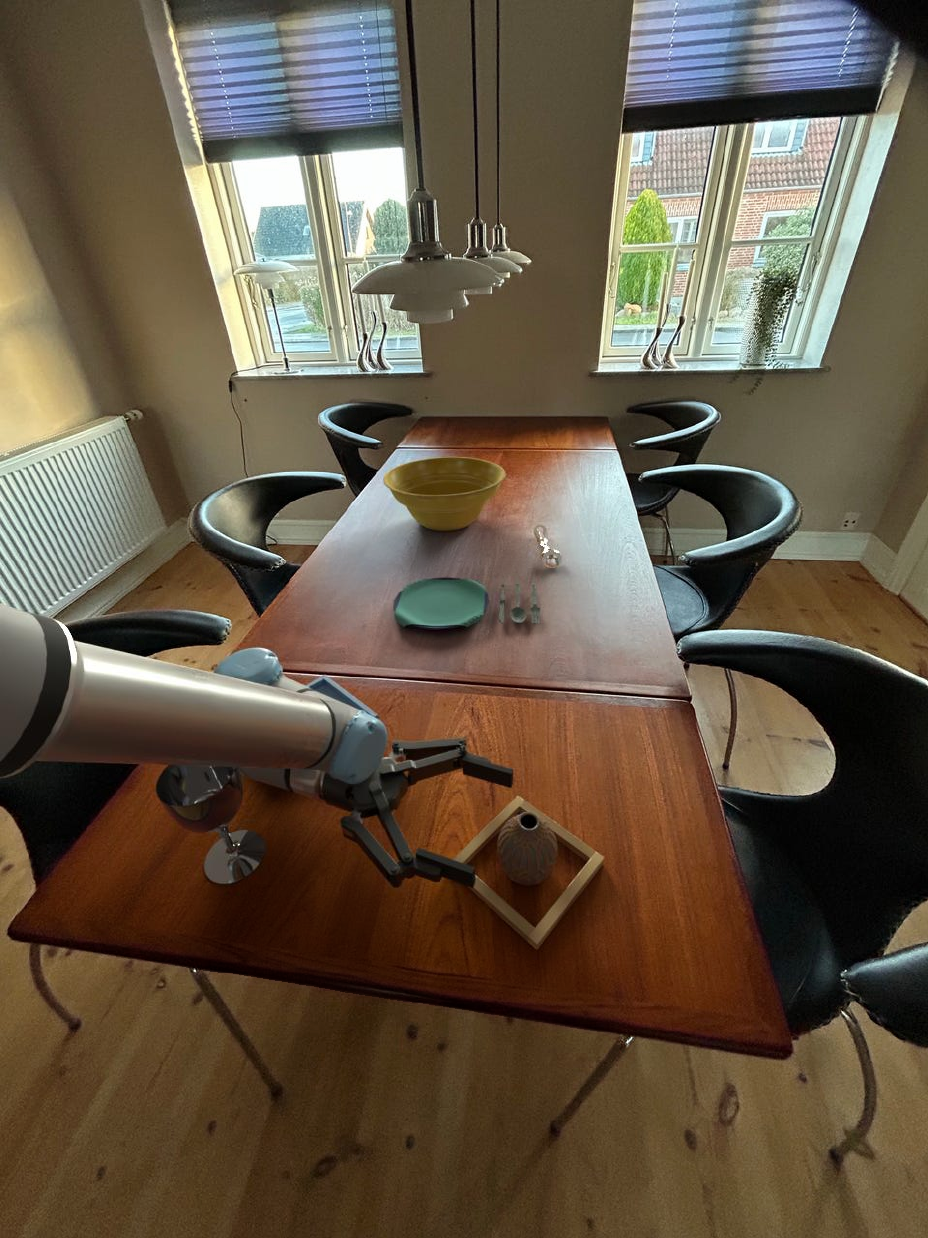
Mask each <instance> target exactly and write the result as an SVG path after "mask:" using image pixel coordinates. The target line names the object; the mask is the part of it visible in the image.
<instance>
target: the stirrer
mask: <svg viewBox="0 0 928 1238" xmlns="http://www.w3.org/2000/svg"><path fill="white" fill-rule="evenodd" d="M538 529H542V530H541V532H540V530H538ZM541 534H542V536H541ZM533 535H534V537H535V539H536V540H537V542H538V543H539V544H540V545H541V546H542V547H543V548H544V550H543V551H541V555H540V557H541V560H542V561H543V562H544V564H545V565H546V566H548V567H549V568H555V567H556V568H557V567H558V566H559V565H560V563H561V562H562V557H563V556H562V553H561V552H560V551H559V550H557V549H555V548H551V547H550V546H548V540H549V539H548V537H549V536H548V529H547V527H546V526H545V525H542V524H537V525H534V527H533ZM542 537H543V538H542Z"/></svg>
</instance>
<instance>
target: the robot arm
mask: <svg viewBox="0 0 928 1238" xmlns="http://www.w3.org/2000/svg"><path fill="white" fill-rule="evenodd" d="M283 671H284V669H283V665H281V663H280V661H279V658H278V656H277V655H276V654H275V653H274V652H273V651H271V650H270V649H267V648H264V647H250V648H249V647H248V648H244V649H240V650H237V651H235V652H233V653H231V654H230V655H229V656H226V658H223V660H221V661H220V662H219V663H218V664H217V666H216V668H215V669H214V672H211V671H206V670H202V669H197V668H192V667H190V666H186V665H180V664H178V663H177V664H176V663H173V662H172V663H171V662H168V661H163V660H160V659H159V660H158V659H155V658H150V657H146V656H142V655H137V654H133V653H128V652H125V651H120V650H117V649H116V650H115V649H112V648H108V647H103V646H98V645H95V644H91V643H85V642H81V641H77V640H74V638H73V637H72V635H71V633H70V631H69V629H68V628H67V627H66V626H65V624H64V623H62V622H61V621H59V620H57V619H55V618H53V617H49V616H45V615H41V614H38V613H33V612H29V611H26V610H23V609H22V610H21V609H18V608H15V607H12V606H9V605H7V604H5V603H1V602H0V779H4V778H5V779H6V778H9V777H13V776H16V775H17V774H20V773H21V772H23V771H24V770H26V769H27V768H29V767H30V766H32V764H33V763H35V762H62V763H63V762H64V763H95V764H124V765H125V764H127V765H129V764H130V765H157V766H158V765H161V766H168V765H188V766H220V767H238V768H239V771H240V774H241V776H243V777H245V778H247V779H249V780H252V781H257V782H260V783H264V784H266V785H270V786H273V787H274V788H275V787H276V788H279V789H281V790H285V791H287V792H291V793H294V794H297V795H299V796H303V797H305V798H306V797H307V798H309V799H312V800H315V801H317V802H321V803H326V804H327V805H329V806H332V807H334V808H338V809H340V810H343V811H346V812H351V813H350V814H349V815H345V816H342V817H341V818H340V819H339V823H340V827H341V832H342V835H343V837H344V838H345V839H347V840H349V841H351V842H352V843H353V842H354V843H355V844H357V845H358V847H359V848H360V849H361V851H362V852H363V853H364V854H365V855H366V856H367V858H368V859H369V860H370V861H371V863H372V864H373V865H374V867H375V868H376V869H377V870H378V871H379V872H380V873H381V875H382V876H383V878H385V880H386V881H387V882H388V884H390V886H391V887H392V888H394V889H398V888H400V887H401V886H402V884H403V881H404V880H405V879H408V880H411V879H413V878H415V876H416V877H419V878H422V879H425V880H426V881H427V880H428V881H430V882H432V883H441V880H442V878H444V879H446V880H449V881H452V882H455V883H458V884H460V885H463V886H466V887H467V886H468V887H471V888H473V887H474V884H475V875H476V867H475V866H472V865H469V864H464V863H461V862H458V861H455V860H453V858H450V857H446V856H444V855H441V854H438V853H435V852H433V851H429V850H426V849H424V848H421V847H418V848H417V850H416V851H415V853H414V854H413V852H412V850H411V848H410V845H409V844H408V842H407V840H406V838H405V836H404V834H403V832H402V830H401V828H400V826H399V824H398V822H397V820H396V818H395V816H394V813H393V811H395V810H396V811H398V808H399V807H400V805H401V802H402V801H401V800H402V799H403V798H404V797H405V796H406V795H407V793H408V791H409V787H412V786H415V785H417V783H418V782H421V781H423V780H427V779H430V778H434V777H437V776H441V775H445V774H447V773H451V772H454V771H458V770H461V769H462V775H465V776H468V777H471V778H474V779H478V780H481V781H485V782H488V783H492V784H494V785H495V784H496V785H497V786H501V787H506V788H509V789H512V788H513V785H514V768H510V767H506V766H503V765H499V764H495V763H492V762H491V759H489V758H488V757H485V756H482V755H479V754H474V753H472V752H471V753H470V752H469V751H468V749H467V739H466V738H465V737H453V738H452V737H451V738H442V739H441V738H439V739H430V740H419V741H418V740H417V741H405V740H399V739H394V740H393V741H392V742H391V751H390V753H389V755H388V756H386V757H384V755H385V752H386V750H387V747H388V739H389V738H388V731H387V730H388V729H387V727H386V725H385V724H384V723H383V721H382V720H380V718H379V719H377V718H375V717H373V716H371V715H369V714H367V713H366V711H364V710H362V711H361V710H358V709H356V708H354V707H351V706H349V705H347V704H344V703H342V702H340V701H338V700H335V699H333V698H331V697H328V696H326V695H324V694H321V693H319V692H318V691H315V690H314V689H311V688H309V687H307V686H306V685H305V684H302V683H300V682H299V681H296V680H294V679H291V678H289V677H287V676H286V675H285V674H284V672H283ZM406 772H408V775H407V774H406ZM376 816H377V819H378V820H379V823H380V825H381V827H382V829H384V831H385V834H386V836H387V838H388V841H389V842H390V845H391V847H392V849H393V851H394V853H395V856H396V857H397V859H398V862H396V861H395V859H394V858H393V857H392V856H391V855H390V854H389V853H388V852H387V851H386V849H385V848H384V847H383V846H382V845H381V844H380V842H379V841H378V840H377V839H376V838H375V836H374V835H373V834H372V833H371V831H369V829H368V827H366V826H365V823H364V820H363V819H367V818H373V817H376ZM468 887H467V888H468Z"/></svg>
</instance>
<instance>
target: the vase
mask: <svg viewBox="0 0 928 1238" xmlns="http://www.w3.org/2000/svg"><path fill="white" fill-rule="evenodd" d="M496 843H497V844H496V854H497V860H498V864H499V866H500V868H501V869H502V871H503V873H504V874H505V875H506V877H508V878H509V879H510V881H511V880H512V881H513V882H514V883H516V884H519V885H521V886H535V885H538V884H541V883H542V882H544V881H545V880H546V879H547V878H548V877H550V875H551V874H552V872H553V871H554V870H555V867H556V865H557V860H558V855H559V847H558V846H559V845H558V840H557V839H556V837H555V834H554V832H553V830H552V828H551V827H550V826H549V824H548V823H547V822H546V821H545V820H543V819H542V818H540V817H538V816H537V815H536V814H534V813H532V812H524V813H522V814H521V813H520V814H516V815H515V816H514V817H513V818H511V819H510V820H508V821H507V822H506V824H505V825H504V826H503V828H502V830H501V831H500V832H499V833H498V836H497V841H496Z"/></svg>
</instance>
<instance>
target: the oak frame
mask: <svg viewBox="0 0 928 1238" xmlns="http://www.w3.org/2000/svg"><path fill="white" fill-rule="evenodd" d="M524 812H532V813H534V814H536V815H537V816H538V817H540V818H542V819H543V820H545V821H546V822H547V823H548V824H549V826H550V827H551V828H552V830H553V832H554V834H555V837H556V840H557V842H559V843H560V844H562V845H563V846H564V847H566V848H567V849H569V850H570V851H571V852H572V853H574V854H575V855H576V856H578V857H579V858H581V859H582V860H584V861H585V862H586V864H585V865H584V866H583V867H582V868H581V869H580V871H579V872H578V873H577V874H576V876H575V877H574V878H573V880H572V881H570V883H569V885H567V887H566V889H564V891H563V892H562V893H561V895H560V896H559V897H558V899H556V901H555V902H554V904H553V905H552V906H551V907H550V909H548V911H547V912H546V913H545V914H544V916H543V917H542V918H541V919H540V921H539V922H538V924H537V925H536V926H533V925H532V924H531V923H530V922H529V921H528V920H527V919H525V918H524V917H523V916H522V915H521V914H520V913H519V912H518V911H517V910H515V909H514V908H513V907H512V906H511V905H509V903H507V902H506V901H505V900H504V899H503V897H502V898H501V896H500V895H498V893H496V892H495V891H494V890H493V889H492V888H491V887H489V886H488V885H487V884H486V883H485V882H484V881H483V880H482V879H480V878H479V876H477V875H476V874H475V884H474V887H473V888H471V887H468V886H466V887H467V888H468V889H469V890H470V891H471V892H472V893H473V894H475V895H476V896H477V897H478V898H479V899H480V900H481V901H482V902H483V903H484V904H486V905H487V906H488V907H489V908H490V909H491V910H492V911H493V912H494V913H495V914H496V915H497V916H498V917H499V918H501V920H503V921H504V922H505V923H506V924H508V926H510V927H511V928H512V929H513V930H514V932H516V933H517V934H518V935H519V936H520V937H522V938H523V939H524V940H525V941H526V942H527V943H528V944H529V945H530V946H531V947H532V948H534V949H535V950H538V949H539V948H540V947H541V945H542V944H543V943H544V942H545V940H546V939H547V937H548V936H549V935H550V934H551V932H552V931H553V930H554V929H555V928H556V926H557V925H558V924H559V922H560V921H561V920H562V918H563V917H564V916H565V914H566V913H567V912H568V910H569V909H570V908H571V907H572V905H573V904H574V903H575V901H576V900H577V899H578V897H579V896H580V895H581V894H582V892H583V891H584V890H585V888H586V887H587V886H588V885H589V884H590V882H591V881H592V879H593V878H594V877H595V876H596V874H597V873H598V872H599V870H600V869H601V868H602V867H603V865H604V863H605V856H603V855H602V854H600V853H599V852H597V851H596V850H595V849H593V848H592V847H590V846H589V845H587V844H586V843H585V842H583V841H582V840H581V839H579V838H578V837H576V835H574V834H572V833H571V832H570V831H568V830H567V829H566V828H564V827H563V826H561V825H560V824H559V823H558V822H556V821H554V820H553V819H551V817H549V816H547V815H546V814H545V813H543V812H541V810H539V809H537V808H536V807H535V806H534V805H532V804H531V803H529V802H528V801H527V800H525V799H524V798H522V797H521V796H520V795H517V796H516V797H515V798H514V799H512V801H511V802H510V803H509V804H508V805H506V806H505V808H503V810H501V812H499V814H498V815H496V816H495V817H494V819H492V820H491V821H490V822H489V823H488V824H487V825H486V826H485V827H484V828H483V829H482V830H481V831H480V832H479V833H478V834H477V835H476V836H475V837H474V838H473V839H472V840H471V841H470V842H469V843H468V844H467V845H466V846H465V847H464V848H463V849H462V850H460V852H458V854H457V855H455V857H454V858H452V860H455V861H458V862H461V863H464V864H467V865H469V863H470V862H471V861H472V860H473V859H474V858H475V857H476V856H477V855H478V854H479V853H480V852H481V851H482V850H483V849H484V848H485V847H486V846H487V845H488V844H489V843H490V842H491V841H492V840H493V839H494V838H495V837H496V836H497V835H499V834H500V832H501V830H502V828H503V826H504V825H505V824H506V822H507V821H508V820H510V819H511V818H513V817H514V816H517V815H518V814H519V813H520V814H522V813H524Z"/></svg>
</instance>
